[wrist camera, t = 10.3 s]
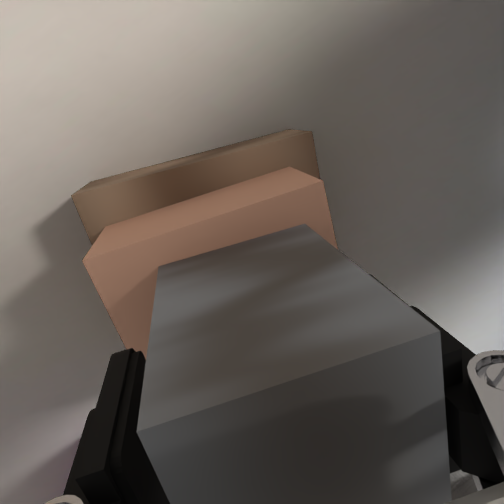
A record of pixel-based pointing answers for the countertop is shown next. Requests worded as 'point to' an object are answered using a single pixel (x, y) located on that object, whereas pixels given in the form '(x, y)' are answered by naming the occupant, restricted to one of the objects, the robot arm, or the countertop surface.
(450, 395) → the robot arm
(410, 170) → the countertop surface
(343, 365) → the grey block
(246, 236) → the tower top
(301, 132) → the tower base
